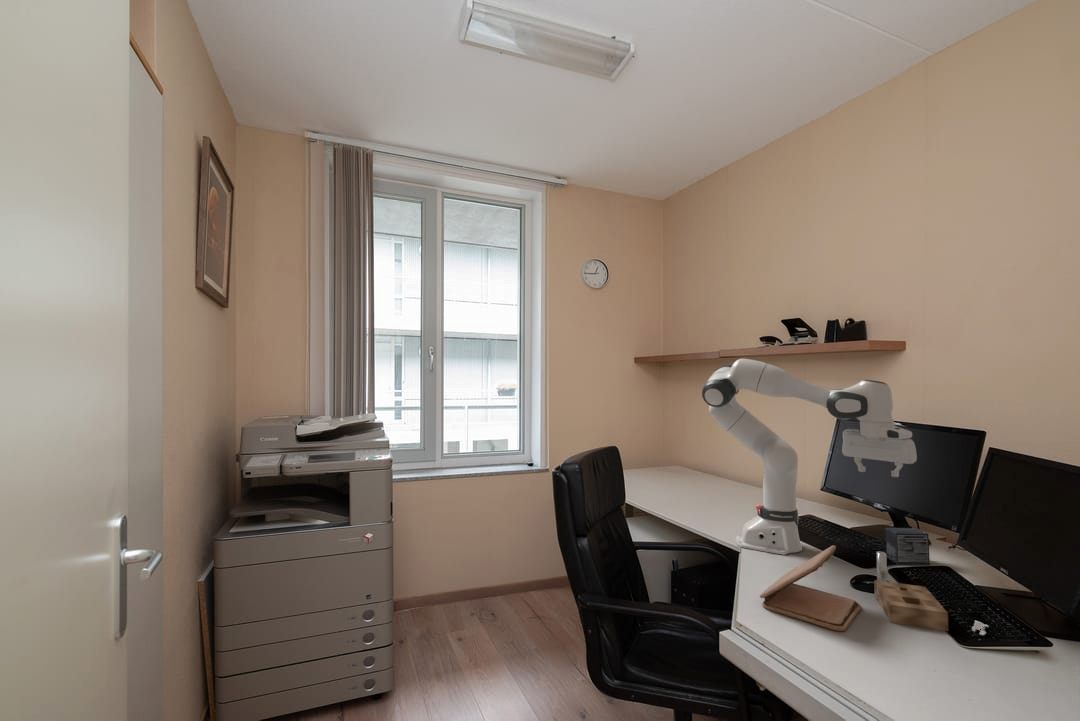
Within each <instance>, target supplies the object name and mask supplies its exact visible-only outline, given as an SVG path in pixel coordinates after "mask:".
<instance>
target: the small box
mask: <svg viewBox="0 0 1080 721" xmlns="http://www.w3.org/2000/svg"><path fill="white" fill-rule="evenodd" d="M929 542H930V540H929V533H928V532H926V531H925V530H922V529H919V528H917V527H885V544H886V545H885V546H886V559H889V560H890V561H892V562H893V563H895V564H897V565H924V566H925V565H928V566H929V565H931V561H930V543H929ZM887 554H888V555H889V556H888V555H887ZM890 556H891V557H892V558H891V557H890Z"/></svg>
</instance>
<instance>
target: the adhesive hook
mask: <svg viewBox="0 0 1080 721" xmlns="http://www.w3.org/2000/svg"><path fill="white" fill-rule="evenodd" d="M986 627H987V628H989V625H988V624H984V622H981V621H978V620H974V623H973V626H972V627H971V630H972V632H977V630H978V631H979V635H981V636H985V635H986V634H987V632H986V630H985V629H986ZM980 629H981V630H980Z"/></svg>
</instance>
